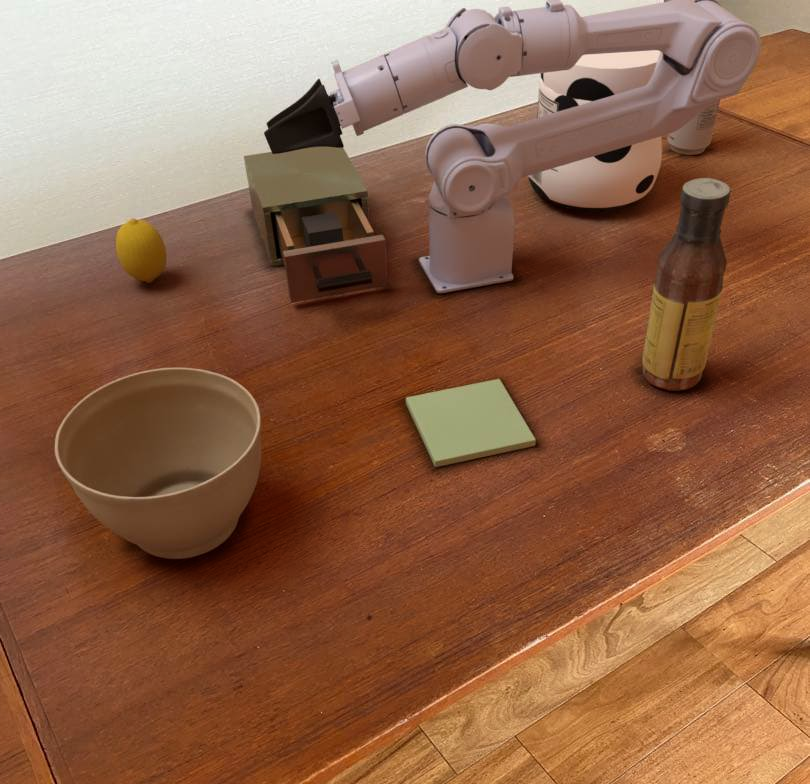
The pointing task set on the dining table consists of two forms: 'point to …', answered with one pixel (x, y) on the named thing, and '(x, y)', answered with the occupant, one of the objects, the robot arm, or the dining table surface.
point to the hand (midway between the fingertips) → (269, 138)
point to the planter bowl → (164, 458)
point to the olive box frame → (299, 186)
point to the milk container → (612, 171)
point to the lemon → (141, 250)
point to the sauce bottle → (687, 289)
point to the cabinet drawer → (330, 253)
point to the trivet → (469, 422)
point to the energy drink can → (695, 132)
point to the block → (322, 229)
